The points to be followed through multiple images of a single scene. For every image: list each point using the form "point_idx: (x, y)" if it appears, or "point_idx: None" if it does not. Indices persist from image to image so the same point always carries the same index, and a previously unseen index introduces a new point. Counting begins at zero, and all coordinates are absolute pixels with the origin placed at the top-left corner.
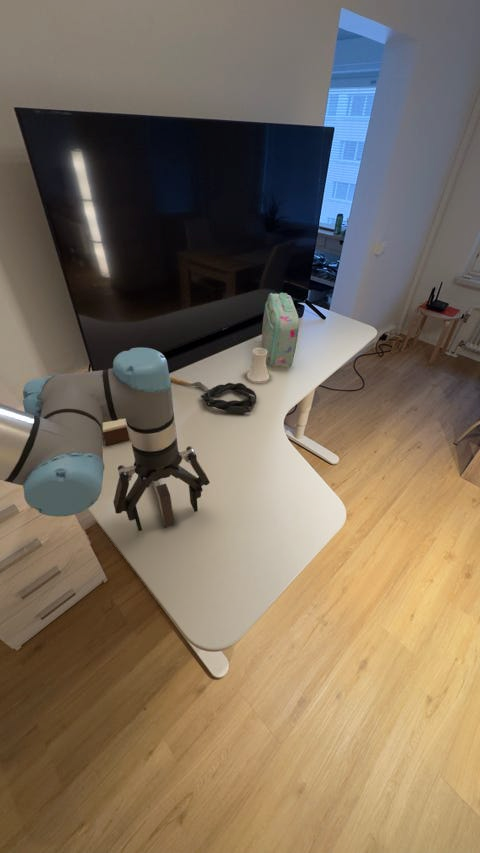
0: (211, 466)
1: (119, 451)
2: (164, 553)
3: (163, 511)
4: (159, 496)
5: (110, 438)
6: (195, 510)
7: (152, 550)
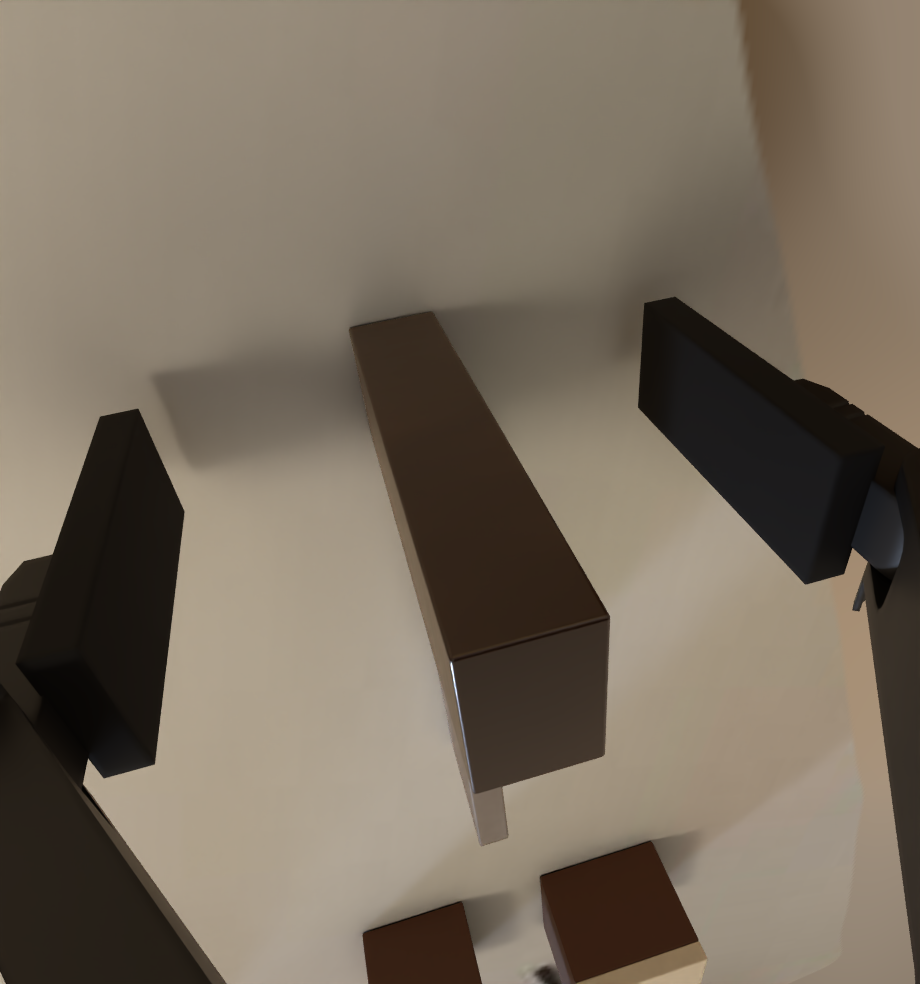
0: None
1: (601, 823)
2: (481, 10)
3: (489, 430)
4: (609, 630)
5: (644, 894)
6: (121, 422)
7: (581, 89)
